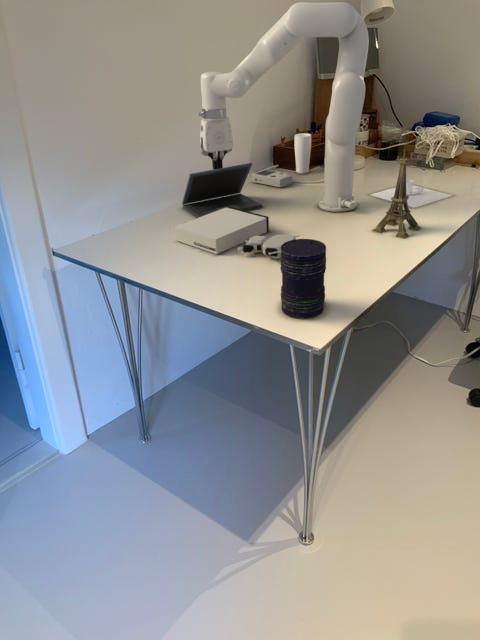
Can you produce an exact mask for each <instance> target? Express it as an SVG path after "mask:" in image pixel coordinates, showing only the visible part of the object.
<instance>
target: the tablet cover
mask: <svg viewBox="0 0 480 640" xmlns="http://www.w3.org/2000/svg"><path fill="white" fill-rule="evenodd" d="M252 166H253V163H252V162H248V163H242V164H238V165H231V166H226V167H223V168H220V169H214V170H213V169H209V170H204V171H198V172H193V173H192V172H191V173H189V175H188V178H187V182H186V186H185V190H184V193H183V196H182V197H183V198H182V202H181V205H182V206H183V205H186V204H190V203H195V202H200V201H205V200H210V199H215V198H220V197H225V196H230V195H235V194H240V193H241V192H242V190H243V187H244V185H245V183H246V181H247V178H248V175H249V173H250V171H251V168H252ZM241 194H242V193H241Z"/></svg>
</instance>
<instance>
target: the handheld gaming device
mask: <svg viewBox="0 0 480 640" xmlns="http://www.w3.org/2000/svg"><path fill="white" fill-rule="evenodd" d="M250 177H251V182H252V183H257V184H261V185H266V186H271V187H276V188H285V187H286V186H290V185H292V184H293V175H292V174H290V173H287V172H283V171H279V170H273V169H267V168H265V169H261V170H259V171H256V172H253V173H251V174H250Z"/></svg>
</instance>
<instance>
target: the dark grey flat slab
mask: <svg viewBox="0 0 480 640" xmlns="http://www.w3.org/2000/svg"><path fill="white" fill-rule="evenodd" d="M226 206H229V207H233V208H237V209H240V210H244V211H248V212H250V211H254V210H259V209H262V208H263V204H262V203H261V202H258V201H256V200H255V199H253V198H250V197H248V196H246V195H245V194H243V193H238V194H233V195H228V196H223V197H218V198H213V199H208V200H203V201H198V202H194V203H189V204H184V205H182V209H183V210H184V211H186V212H188V213H189V214H190V215H192V216H194V217H195V218H199V217H202V216H204V215H207V214H210V213H212V212H215V211H218V210H221V209H223V208H226Z"/></svg>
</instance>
